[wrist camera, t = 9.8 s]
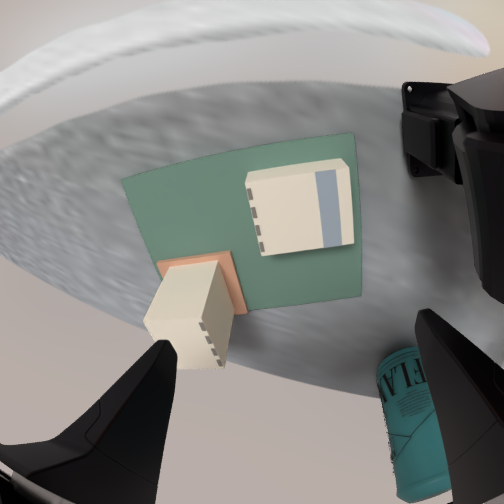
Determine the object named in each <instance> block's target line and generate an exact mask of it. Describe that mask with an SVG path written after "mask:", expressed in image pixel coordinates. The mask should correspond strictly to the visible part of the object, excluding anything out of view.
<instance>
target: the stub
mask: <svg viewBox="0 0 504 504" xmlns="http://www.w3.org/2000/svg"><path fill="white" fill-rule="evenodd" d="M233 316H234V307H233V304H232V301H231V298H230V295H229V292H228V289H227V286H226V283H225V280H224V277H223V274H222V271H221V268H220V265H219V262H218V260H216V261H209V262H202V263H195V264H188V265H180V266H173V267H169V269H168V271H167V273H166V275H165V277H164V279H163V281H162V283H161V285H160V287H159V289H158V291H157V293H156V295H155V297H154V299H153V301H152V303H151V305H150V307H149V309H148V312H147V314H146V316H145V318H144V320H143V322H144V324H145V326H146V328H147V329H148V331H149V333H150V334H151V336H152V338H153V339H154V341H155V342H156V341H157V340H162V339H167V340H169V341H170V342H171V344H172V346H173V347H174V349H175V351H176V353H177V356H178V361H177V369H223V368H225V363H226V357H227V351H228V345H229V339H230V333H231V327H232V322H233Z"/></svg>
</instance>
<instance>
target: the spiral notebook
mask: <svg viewBox="0 0 504 504" xmlns="http://www.w3.org/2000/svg"><path fill="white" fill-rule="evenodd" d="M245 186H246V191H247V195H248V199H249V203H250V208H251V212H252V216H253V221H254V225H255V229H256V234H257V238H258V243H259V247H260V251H261V256H268V255H275V254H282V253H289V252H296V251H304V250H311V249H318V248H327V247H335V246H342V245H346V244H353V243H354V230H353V211H352V196H351V184H350V172H349V167H348V166H347V165H346V163H345V162H344V161H343V160H342V159H341V158H339V159H330V160H322V161H315V162H308V163H301V164H294V165H287V166H281V167H275V168H269V169H263V170H257V171H251V172H248V174H247V177H246V181H245Z"/></svg>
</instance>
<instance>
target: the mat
mask: <svg viewBox="0 0 504 504" xmlns="http://www.w3.org/2000/svg"><path fill="white" fill-rule="evenodd" d="M339 158H341V159H342V160H343V161H344V162H345V163H346V165H347V166H348V167H349V172H350V184H351V196H352V211H353V230H354V243H353V244H346V245H342V246H335V247H327V248H318V249H311V250H304V251H296V252H289V253H282V254H275V255H268V256H261V251H260V247H259V243H258V238H257V234H256V229H255V225H254V221H253V216H252V212H251V208H250V203H249V199H248V195H247V191H246V186H245V181H246V177H247V174H248V172H251V171H257V170H263V169H269V168H275V167H281V166H287V165H294V164H301V163H308V162H315V161H322V160H330V159H339ZM121 183H122V185H123V188H124V191H125V194H126V196H127V199H128V202H129V205H130V207H131V210H132V212H133V215H134V218H135V220H136V223H137V225H138V228H139V230H140V233H141V235H142V238H143V240H144V242H145V245H146V247H147V250H148V252H149V254H150V257H151V259H152V261H153V264H154V266H155V268H156V270H157V273H158V275H159V277H160V279H161V282H162V281H163V278H162V275H161V273H160V271H159V269H158V266H157V264H156V263H157V262H158V261H160V260H167V259H174V258H180V257H187V256H194V255H201V254H208V253H215V252H222V251H229V250H231V254H232V257H233V261H234V264H235V267H236V271H237V274H238V278H239V281H240V285H241V288H242V291H243V295H244V298H245V302H246V305H247V308H248V310H256V309H266V308H275V307H283V306H291V305H300V304H307V303H315V302H322V301H329V300H336V299H343V298H350V297H356V296H361V219H360V199H359V184H358V171H357V160H356V150H355V141H354V134H353V133H345V134H336V135H327V136H319V137H311V138H304V139H297V140H290V141H284V142H278V143H272V144H266V145H260V146H254V147H249V148H244V149H239V150H234V151H229V152H224V153H219V154H215V155H210V156H206V157H201V158H197V159H193V160H189V161H185V162H181V163H177V164H173V165H169V166H165V167H161V168H158V169H154V170H151V171H147V172H143V173H140V174H137V175H133V176H130V177H127V178H123V179H122V180H121Z"/></svg>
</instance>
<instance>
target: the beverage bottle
mask: <svg viewBox="0 0 504 504" xmlns="http://www.w3.org/2000/svg"><path fill="white" fill-rule="evenodd" d="M376 376H377V380H378V383H377V384H378V388H379V392H380V395H379V396H380V397H381V402H382V408H383V413H384V415H385V418H386V423H387V429H388V434H389V441H390V446H391V453H392V454H391V458H392V461H393V466H394V467H393V468H394V472H393V473H395V477H396V485H397V497H398V498H400V499H401V500H403V501H405V502H408V503H415V502H419V501H423V500H426V499H429V498H432V497H435V496H437V495H440V494H442V493H445V492H447V491H448V490H451V483H450V476H449V471H448V467H449V466H448V465H447V459H446V454H445V449H444V445H443V440H442V436H441V432H440V427H439V423H438V419H437V416H436V412H435V408H434V404H433V401H432V397H431V394H430V390H429V387H428V384H427V380H426V377H425V374H424V370H423V366H422V362H421V357H420V352H419V347H408V348H404V349H401V350H399V351H396V352H394V353H393V354H391V355H389V356H388V357H387V358H385V359H384V360H383V361H382V362H381V364H380V365H379V367H378V369H377V375H376ZM388 443H389V442H388ZM447 504H453V502H450V503H447Z"/></svg>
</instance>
